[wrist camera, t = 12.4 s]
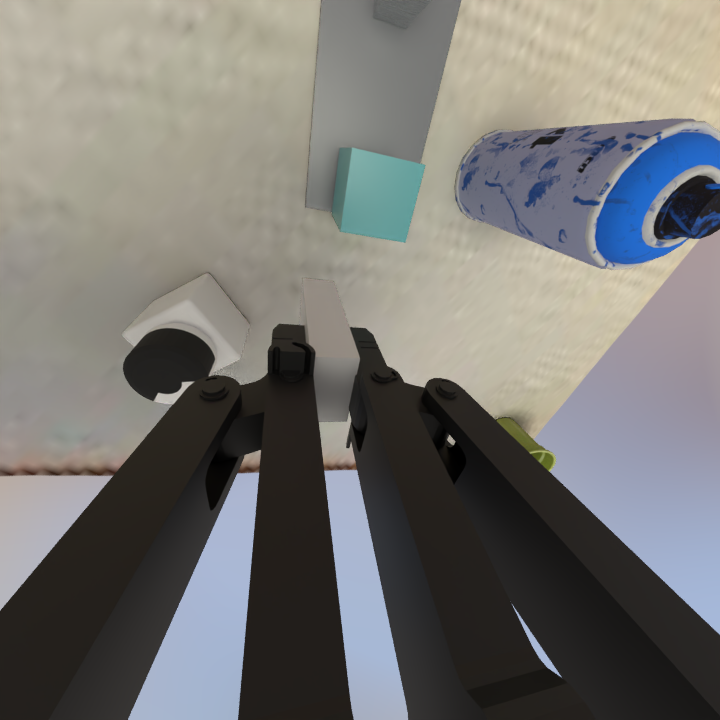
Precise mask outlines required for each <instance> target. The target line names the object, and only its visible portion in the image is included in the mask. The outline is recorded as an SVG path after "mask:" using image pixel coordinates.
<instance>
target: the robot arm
mask: <svg viewBox="0 0 720 720" xmlns="http://www.w3.org/2000/svg"><path fill="white" fill-rule="evenodd" d="M349 411H350V416H351V425H350V429H349V434H348V438H347V444H346V448H349V447H350V443H351V442H352V447H353V452H354V457H355V461H356V466H357V471H358V475H359V480H360V485H361V490H362V495H363V499H364V504H365V509H366V514H367V519H368V523H369V528H370V533H371V538H372V542H373V547H374V552H375V557H376V561H377V566H378V571H379V576H380V581H381V585H382V590H383V595H384V599H385V604H386V609H387V614H388V618H389V623H390V628H391V633H392V638H393V643H394V647H395V652H396V657H397V662H398V667H399V671H400V676H401V681H402V686H403V690H404V695H405V700H406V705H407V711H408V720H720V635H719V634H718V633H717V632H716V631H715V630H714V629H713V628H712V627H711V626H710V625H709V624H708V623H707V622H705V620H703V619H702V618H701V617H700V616H699V615H698V614H697V613H696V612H695V611H694V610H693V609H692V608H691V607H690V606H689V605H688V604H687V603H686V602H685V601H684V600H683V599H682V598H680V597H679V596H678V595H677V594H676V593H675V592H674V591H673V590H672V589H671V588H670V587H669V586H668V585H667V584H666V583H665V582H664V581H663V580H662V579H661V578H660V577H659V576H658V575H656V574H655V573H654V572H653V571H652V570H651V569H650V568H649V567H648V566H647V565H646V564H645V563H644V562H643V561H642V560H641V559H640V558H639V557H638V556H636V554H635V553H633V551H631V550H630V549H629V548H628V547H627V546H626V545H625V544H624V543H623V542H622V541H621V540H620V539H619V538H618V537H617V536H616V535H615V534H614V533H613V532H612V531H611V530H609V528H608V527H606V526H605V525H604V524H603V523H602V522H601V521H600V520H599V519H598V518H597V517H596V516H595V515H594V514H593V513H592V512H591V511H590V510H589V509H588V508H586V506H585V505H584V504H582V503H581V502H580V501H579V500H578V499H577V498H576V497H575V496H574V495H573V494H572V493H571V492H570V491H569V490H568V489H567V488H566V487H565V486H563V484H562V483H560V482H559V481H558V480H557V479H556V478H555V477H554V476H553V475H552V474H551V473H550V472H549V471H548V470H547V469H546V468H545V467H544V466H543V465H542V464H541V463H540V462H539V461H538V460H537V459H536V458H534V457H533V456H532V455H531V454H530V453H529V452H528V451H527V450H526V449H525V448H524V447H523V446H522V445H521V444H520V443H519V442H518V441H517V440H516V439H515V438H514V437H513V436H512V435H510V434H509V433H508V432H507V431H506V430H505V429H504V428H503V427H502V426H501V425H500V424H499V423H498V422H497V421H496V420H495V419H494V418H493V417H492V416H491V415H490V414H489V413H488V412H487V411H485V410H484V409H483V408H482V407H481V406H480V405H479V404H478V403H477V402H476V401H475V400H474V399H473V398H472V397H471V396H470V395H469V394H468V393H467V392H466V391H465V390H464V389H463V388H461V387H460V386H459V385H457V384H456V383H454V382H452V381H450V380H447V379H442V378H433V379H431V380H429V381H428V382H427V384H426V386H425V388H423V387H419V386H415V385H411V384H407V383H404V381H403V379H402V377H401V376H400V374H399V373H398V372H397V371H395V370H394V369H392V368H390V367H388V366H387V365H386V363H385V361H384V358H383V356H382V354H381V352H380V349H379V347H378V345H377V343H376V340H375V338H374V336H373V334H372V333H370V332H369V331H368V330H367V329H366V328H353V327H349V324H348V321H347V318H346V315H345V312H344V309H343V306H342V303H341V300H340V297H339V294H338V291H337V288H336V286H335V283H334V281H329V280H319V279H309V278H302V291H301V306H300V321H299V325H289V324H278V325H277V326H276V327H275V328H274V329H273V334H272V345H271V346H270V347H269V349H268V373H267V374H266V376H264V377H263V378H262V379H260V380H258V381H256V382H253V383H249V384H245V385H239V383H238V382H237V381H236V380H235V379H233V378H230V377H227V376H219V375H214V376H208V377H203V378H201V379H199V380H196V381H194V382H193V383H192V384H191V385H190V386H188V387H187V389H186V390H185V391H184V392H183V393H182V395H181V396H180V397H179V398H178V399H177V401H176V402H175V403H174V404H173V405H172V407H171V408H170V409H169V410H168V411H167V412H166V414H165V415H164V416H163V417H162V418H161V420H160V421H159V422H158V423H157V424H156V426H155V427H154V428H153V429H152V430H151V432H150V433H149V434H148V435H147V436H146V438H145V439H144V440H143V441H142V442H141V443H140V445H139V446H138V447H137V448H136V449H135V451H134V452H133V453H132V454H131V455H130V457H129V458H128V459H127V460H126V461H125V463H124V464H123V465H122V466H121V467H120V469H119V470H118V471H117V472H116V473H115V475H114V476H113V477H112V478H111V479H110V481H109V482H108V483H107V484H106V485H105V486H104V488H103V489H102V490H101V491H100V492H99V494H98V495H97V496H96V497H95V498H94V500H93V501H92V502H91V503H90V504H89V506H88V507H87V508H86V509H85V510H84V511H83V513H82V514H81V515H80V516H79V517H78V519H77V520H76V521H75V522H74V523H73V525H72V526H71V527H70V528H69V530H68V531H67V532H66V533H65V534H64V535H63V537H62V538H61V539H60V540H59V541H58V543H57V544H56V545H55V546H54V547H53V548H52V550H51V551H50V552H49V553H48V555H47V556H46V557H45V558H44V559H43V560H42V562H41V563H40V564H39V565H38V567H37V568H36V569H35V570H34V571H33V573H32V574H31V575H30V576H29V577H28V578H27V580H26V581H25V582H24V583H23V584H22V585H21V587H20V588H19V589H18V590H17V592H16V593H15V594H14V595H13V596H12V597H11V599H10V600H9V601H8V602H7V603H6V605H5V606H4V607H3V608H2V609H1V611H0V720H128V718H129V716H130V713H131V711H132V709H133V707H134V704H135V702H136V700H137V698H138V695H139V693H140V691H141V689H142V686H143V684H144V682H145V680H146V677H147V675H148V673H149V670H150V668H151V666H152V664H153V661H154V659H155V657H156V655H157V653H158V650H159V648H160V646H161V644H162V641H163V639H164V637H165V635H166V632H167V630H168V628H169V626H170V623H171V621H172V619H173V617H174V614H175V612H176V610H177V608H178V605H179V603H180V601H181V599H182V596H183V594H184V592H185V589H186V587H187V585H188V583H189V581H190V578H191V576H192V574H193V571H194V569H195V567H196V565H197V563H198V560H199V558H200V556H201V553H202V551H203V549H204V547H205V545H206V542H207V540H208V538H209V536H210V533H211V531H212V529H213V526H214V524H215V522H216V520H217V518H218V515H219V513H220V511H221V508H222V506H223V504H224V502H225V499H226V497H227V495H228V493H229V491H230V488H231V486H232V484H233V481H234V479H235V477H236V475H237V473H238V470H239V468H240V466H241V464H242V461H243V459H244V455H246V454H249V453H252V452H255V451H258V450H261V459H260V471H259V483H258V494H257V506H256V517H255V529H254V540H253V552H252V564H251V575H250V587H249V599H248V611H247V622H246V634H245V646H244V657H243V669H242V680H241V693H240V705H239V715H238V720H354V719H353V714H352V709H351V702H350V694H349V686H348V677H347V668H346V659H345V650H344V642H343V633H342V624H341V615H340V606H339V597H338V589H337V581H336V571H335V562H334V553H333V544H332V536H331V527H330V518H329V509H328V500H327V492H326V483H325V475H324V465H323V456H322V447H321V438H320V430H319V422H344V421H347V419H348V414H349ZM449 435H450V436H451V437H452V438H453V439H454V440H455V441H456V442H455V444H454V445H451V444H450V443H449V442H448V441H447V439H448V437H449ZM510 601H511V602H510ZM511 603H512V604H513V606H514V607H515V609H516V610H517V612H518V613H519V615H520V616H521V618H522V619H523V621H524V622H525V624H526V625H527V626H528V628H529V629H530V631H531V632H532V634H533V635H534V637H535V638H536V640H537V641H538V643H539V644H540V646H541V647H542V648H543V650H544V651H545V653H546V655H547V656H548V657H549V659H550V660H551V662H552V663H553V665H554V666H555V668H556V669H557V670H558V672H559V674H560V675H561V676H562V678H561V677H560V676H558V675H557V674H555V673H554V672H552V671H551V670H550V669H548V668H547V667H546V666H545V665H544V663H543V662H542V661H541V660H540V659H539V657H538V655H537V654H536V652H535V650H534V649H533V647H532V645H531V643H530V641H529V639H528V637H527V635H526V633H525V631H524V629H523V627H522V624H521V622H520V620H519V618H518V616H517V614H516V612H515V610H514V608H513V606H512V604H511Z"/></svg>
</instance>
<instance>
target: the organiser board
mask: <svg viewBox="0 0 720 720" xmlns="http://www.w3.org/2000/svg"><path fill="white" fill-rule="evenodd" d="M374 3H375V0H321V12H320V25H319V38H318V51H317V63H316V76H315V89H314V102H313V115H312V127H311V140H310V153H309V166H308V179H307V191H306V204H305V207H307V208H312V209H318V210H323V211H329V212H332V207H333V199H334V191H335V183H336V174H337V166H338V158H339V150H340V148H356V149H360V150H365V151H369V152H373V153H377V154H381V155H386V156H390V157H394V158H398V159H402V160H407V161H411V162H415V163H419V164H420V162H421V158H422V154H423V150H424V146H425V142H426V138H427V134H428V130H429V126H430V122H431V118H432V114H433V111H434V107H435V103H436V99H437V95H438V91H439V87H440V83H441V79H442V75H443V71H444V67H445V63H446V59H447V55H448V51H449V47H450V43H451V39H452V35H453V31H454V27H455V23H456V19H457V15H458V11H459V7H460V3H461V0H431V1H430V3H429V4H428V5H427V6H426V7H425V8H424V9H423V10H422V12H421V13H420V14H419V15H418V16H417V17H416V18H415V20H414V21H413V22H412V23H411V24H410V25H409V26H408V27H407V29H403V28H400V27H397V26H394V25H391V24H389V23H386V22H383V21H380V20H377V19H374V18H372V17H373V10H374Z"/></svg>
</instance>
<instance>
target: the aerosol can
mask: <svg viewBox="0 0 720 720" xmlns="http://www.w3.org/2000/svg"><path fill="white" fill-rule="evenodd" d="M455 196H456V201H457V204H458V206H459V208H460V210H461V211H462V212H463V213H464V214H465V215H466V216H467V217H468V218H470V219H472V220H475V221H478V222H485V223H488V224H490V225H493V226H495V227H498V228H500V229H503V230H505V231H508V232H510V233H513V234H515V235H518V236H520V237H523V238H525V239H528V240H530V241H533V242H535V243H538V244H540V245H543V246H545V247H548V248H550V249H553V250H555V251H558V252H560V253H563V254H565V255H568V256H570V257H573V258H575V259H578V260H580V261H583V262H585V263H588V264H590V265H593V266H596V267H598V268H601V269H606V268H607V269H610V270H618V269H631V268H634V267H637V266H639V265H642V264H645V263H648V262H650V261H651V260H653V259H655V258H658V257H661V256H664V255H666V254H668V253H669V252H671V251H672V250H674V249H676V248H677V247H679V246H680V245H682V244H683V243H684V242H685V241H686V240H688V239H689V238H692V239H701V238H703V237H706V236H709V235H711V234H713V233H714V232H716V231H718V230H719V229H720V131H718V130H717V129H715V128H714V127H712V126H711V125H710V124H708V123H706V122H705V121H695V120H694V119H662V120H650V121H637V122H625V123H612V124H600V125H587V126H575V127H562V128H550V129H537V130H525V131H513V130H496V131H494V132H491V133H489V134H486V135H484V136H483V137H481V138H480V139H479V140H478V141H477V142H475V143H474V144H473V145H472V146H471V147H470V149H469V150H468V152H467V153H466V154H465V156H464V157H463V159H462V161H461V164H460V166H459V168H458V171H457V174H456V181H455Z"/></svg>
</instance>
